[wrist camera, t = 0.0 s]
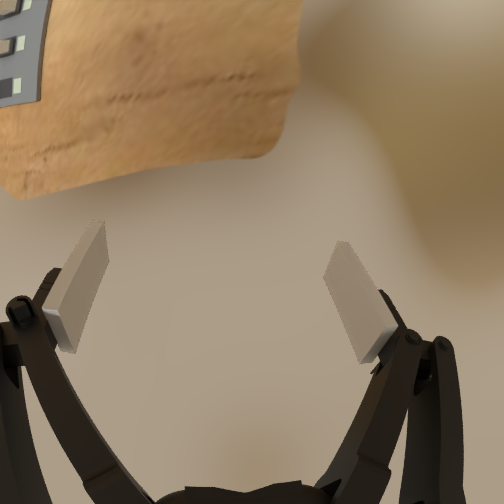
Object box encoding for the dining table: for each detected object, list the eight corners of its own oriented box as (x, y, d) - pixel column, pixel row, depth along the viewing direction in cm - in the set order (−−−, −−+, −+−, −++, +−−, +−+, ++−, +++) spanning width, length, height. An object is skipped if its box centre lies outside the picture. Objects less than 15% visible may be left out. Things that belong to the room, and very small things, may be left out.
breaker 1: (8, 3, 18) (-14, 1, 13) (21, -2, 18) (0, -5, 13) (5, 16, 19) (-17, 15, 14) (18, 11, 20) (-4, 9, 15)
